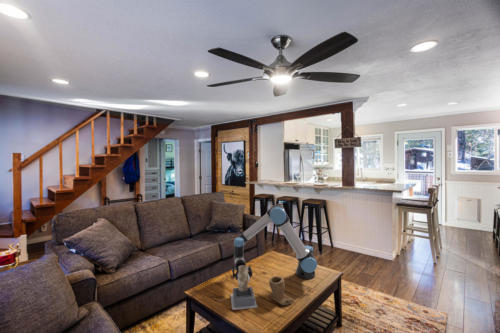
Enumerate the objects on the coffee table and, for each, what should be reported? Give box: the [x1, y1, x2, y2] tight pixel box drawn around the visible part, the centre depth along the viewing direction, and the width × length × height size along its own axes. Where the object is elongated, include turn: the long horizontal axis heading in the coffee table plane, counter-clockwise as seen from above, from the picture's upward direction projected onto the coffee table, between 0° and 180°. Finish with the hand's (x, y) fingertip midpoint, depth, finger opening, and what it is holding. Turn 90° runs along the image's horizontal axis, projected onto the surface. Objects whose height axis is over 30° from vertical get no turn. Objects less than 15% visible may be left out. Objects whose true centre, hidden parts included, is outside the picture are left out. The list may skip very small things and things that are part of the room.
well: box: [230, 286, 258, 311], centre depth 159 cm, size 16×16×6 cm
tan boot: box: [268, 275, 295, 306], centre depth 159 cm, size 15×12×15 cm
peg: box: [238, 264, 249, 292], centre depth 158 cm, size 6×6×15 cm
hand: (244, 280), depth 153 cm, fingers closed on peg, 6 cm apart
